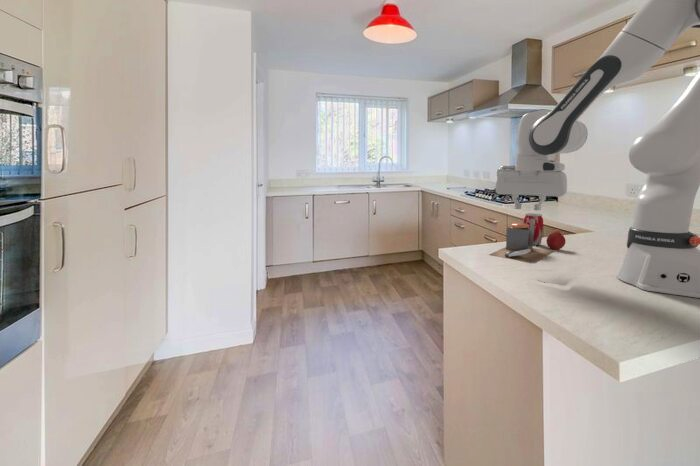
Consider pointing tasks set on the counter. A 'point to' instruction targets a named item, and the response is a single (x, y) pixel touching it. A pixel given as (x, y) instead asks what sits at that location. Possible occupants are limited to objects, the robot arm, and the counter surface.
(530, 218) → the soda can
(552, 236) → the onion
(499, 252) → the board
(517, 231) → the socket
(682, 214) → the robot arm
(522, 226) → the pin
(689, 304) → the counter surface
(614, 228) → the counter surface
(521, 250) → the keeper
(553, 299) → the counter surface
